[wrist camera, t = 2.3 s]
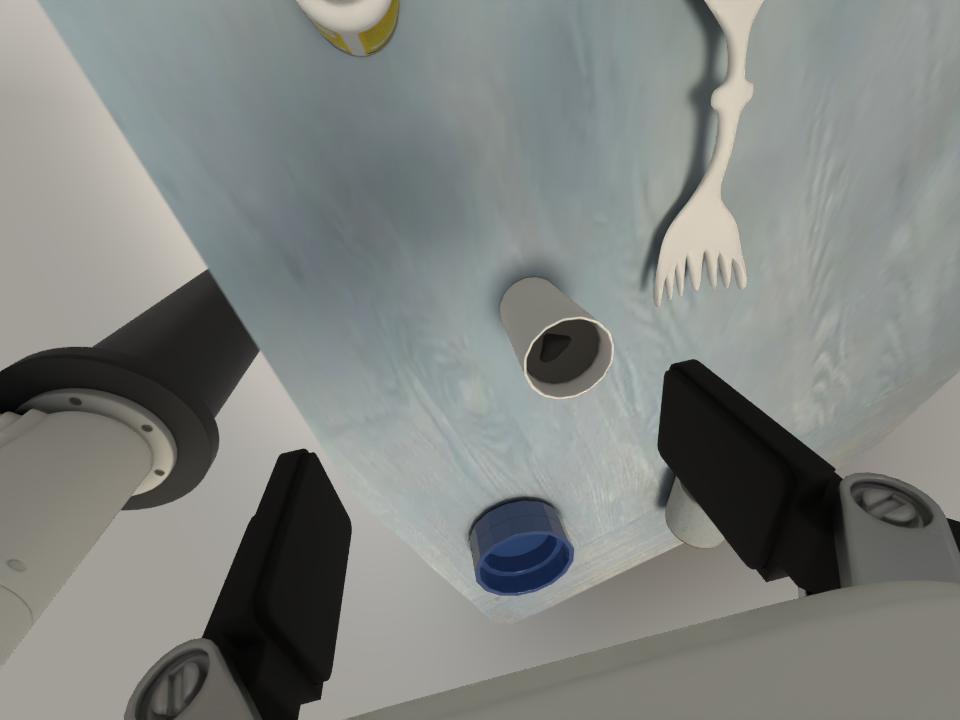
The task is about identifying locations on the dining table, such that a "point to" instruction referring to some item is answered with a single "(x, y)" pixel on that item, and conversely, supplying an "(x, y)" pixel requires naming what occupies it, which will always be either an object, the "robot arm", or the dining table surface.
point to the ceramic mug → (690, 519)
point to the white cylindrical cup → (555, 339)
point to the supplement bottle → (354, 23)
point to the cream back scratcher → (713, 175)
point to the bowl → (520, 548)
